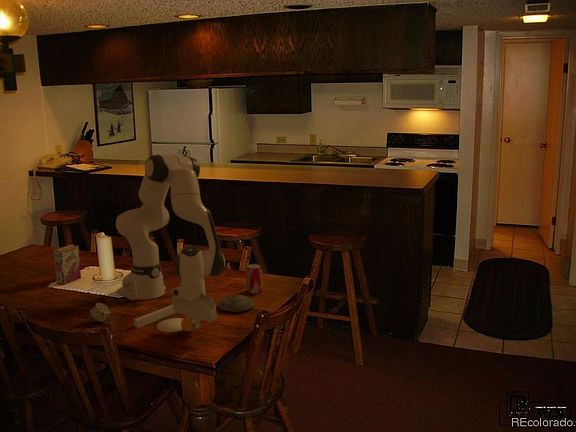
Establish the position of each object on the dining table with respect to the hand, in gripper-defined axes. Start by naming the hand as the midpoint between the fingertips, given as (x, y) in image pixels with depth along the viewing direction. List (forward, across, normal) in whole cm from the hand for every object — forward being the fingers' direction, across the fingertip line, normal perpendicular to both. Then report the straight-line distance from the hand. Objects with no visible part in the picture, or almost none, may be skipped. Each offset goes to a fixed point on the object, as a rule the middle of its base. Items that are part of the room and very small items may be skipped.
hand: (195, 327), depth 217 cm
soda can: (+2, +12, -46) cm, 48 cm away
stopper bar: (+2, +23, 0) cm, 23 cm away
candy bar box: (0, +93, -6) cm, 93 cm away
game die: (+2, +38, +15) cm, 41 cm away
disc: (+2, +13, 0) cm, 13 cm away
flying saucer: (+2, +6, -28) cm, 29 cm away
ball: (0, +4, 0) cm, 4 cm away
